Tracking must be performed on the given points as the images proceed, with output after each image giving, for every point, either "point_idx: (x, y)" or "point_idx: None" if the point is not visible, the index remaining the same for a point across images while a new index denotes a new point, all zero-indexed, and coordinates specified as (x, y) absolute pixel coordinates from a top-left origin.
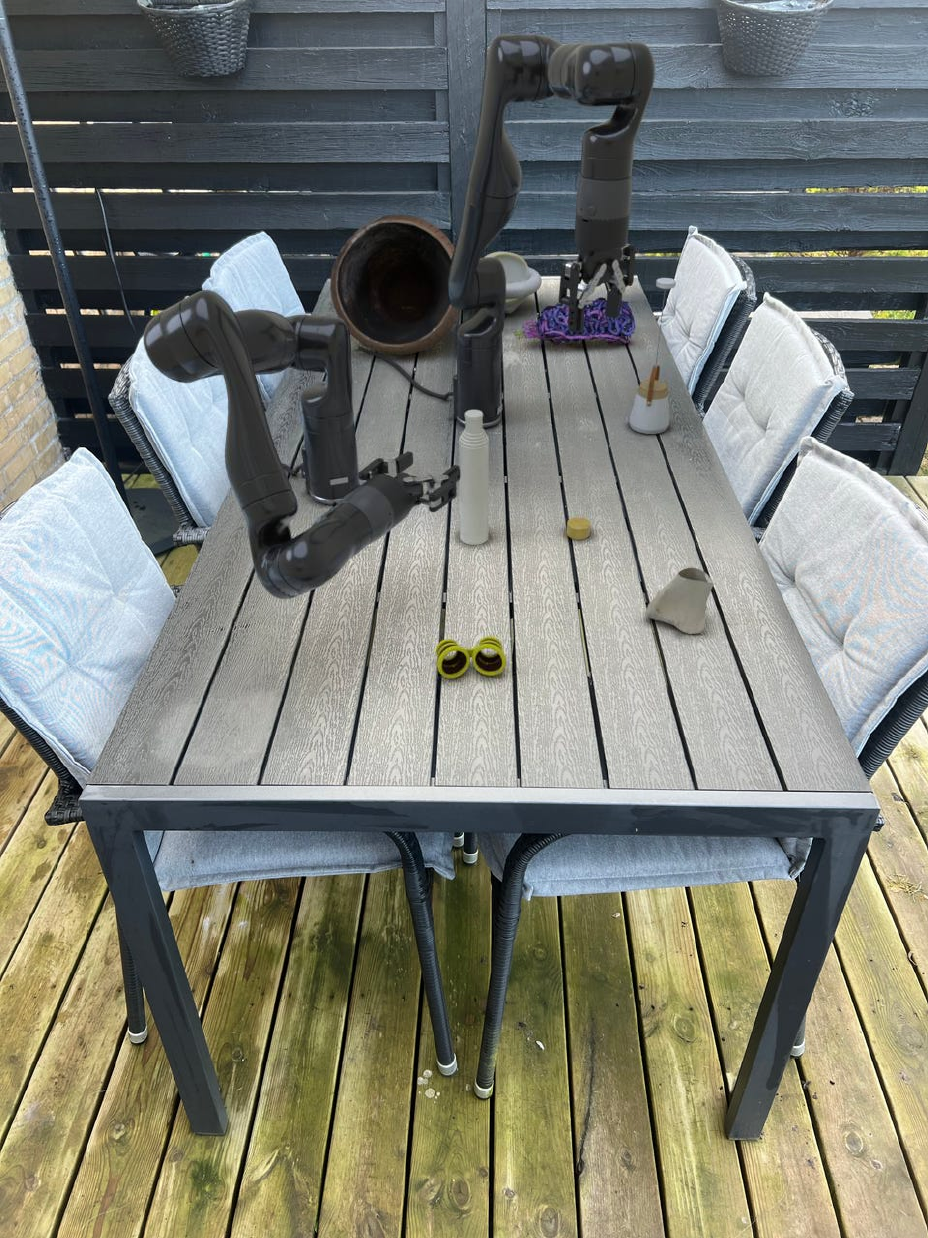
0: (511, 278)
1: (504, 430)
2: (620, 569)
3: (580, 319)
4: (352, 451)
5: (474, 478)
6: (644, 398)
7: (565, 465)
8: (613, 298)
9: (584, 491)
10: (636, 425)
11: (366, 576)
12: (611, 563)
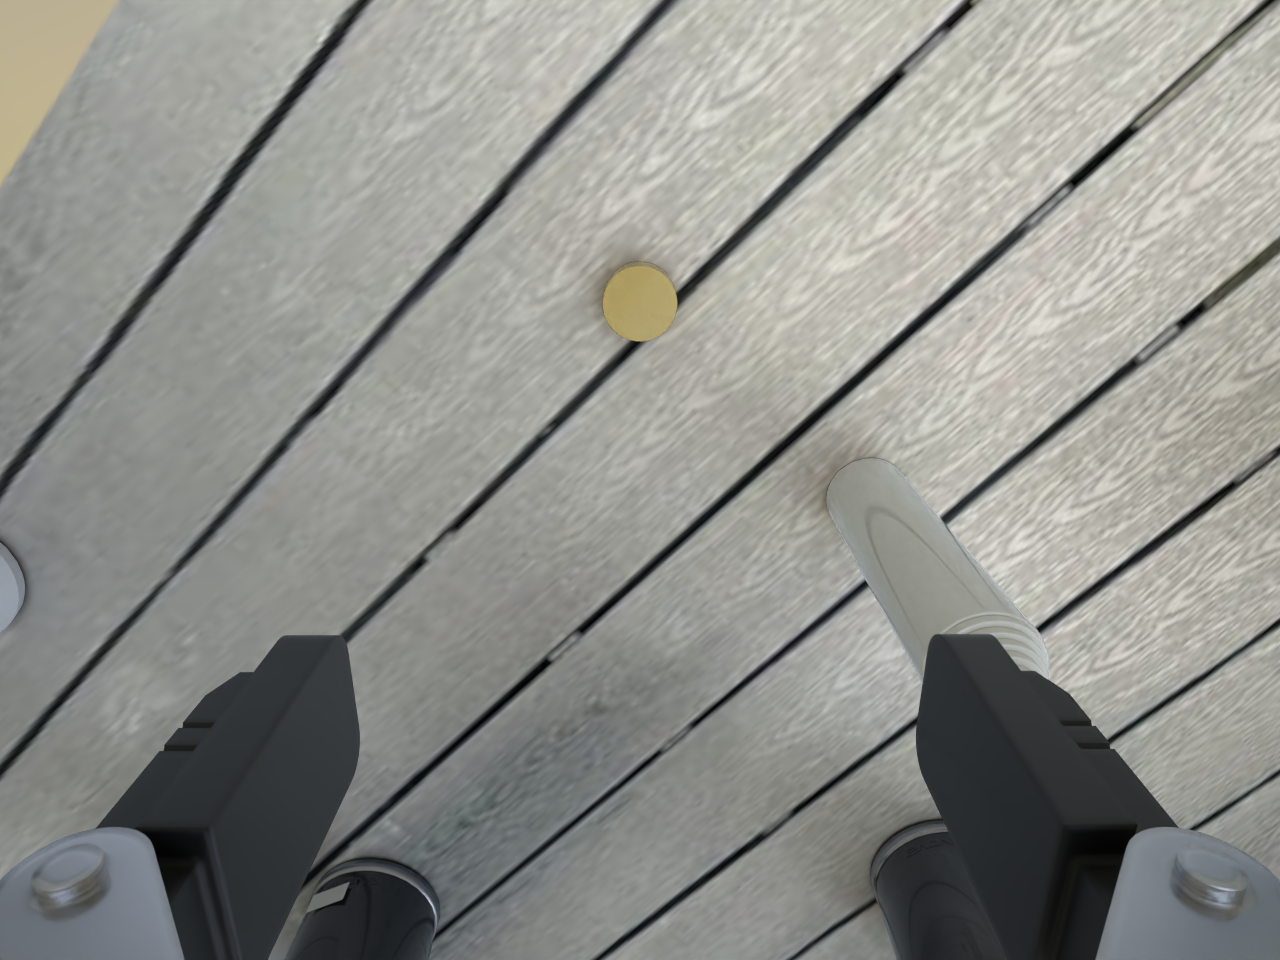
0: None
1: (363, 826)
2: (705, 55)
3: (1059, 723)
4: (970, 939)
5: (980, 564)
6: None
7: (367, 587)
8: (260, 844)
9: (435, 449)
10: (12, 589)
11: (1195, 554)
12: (698, 102)
